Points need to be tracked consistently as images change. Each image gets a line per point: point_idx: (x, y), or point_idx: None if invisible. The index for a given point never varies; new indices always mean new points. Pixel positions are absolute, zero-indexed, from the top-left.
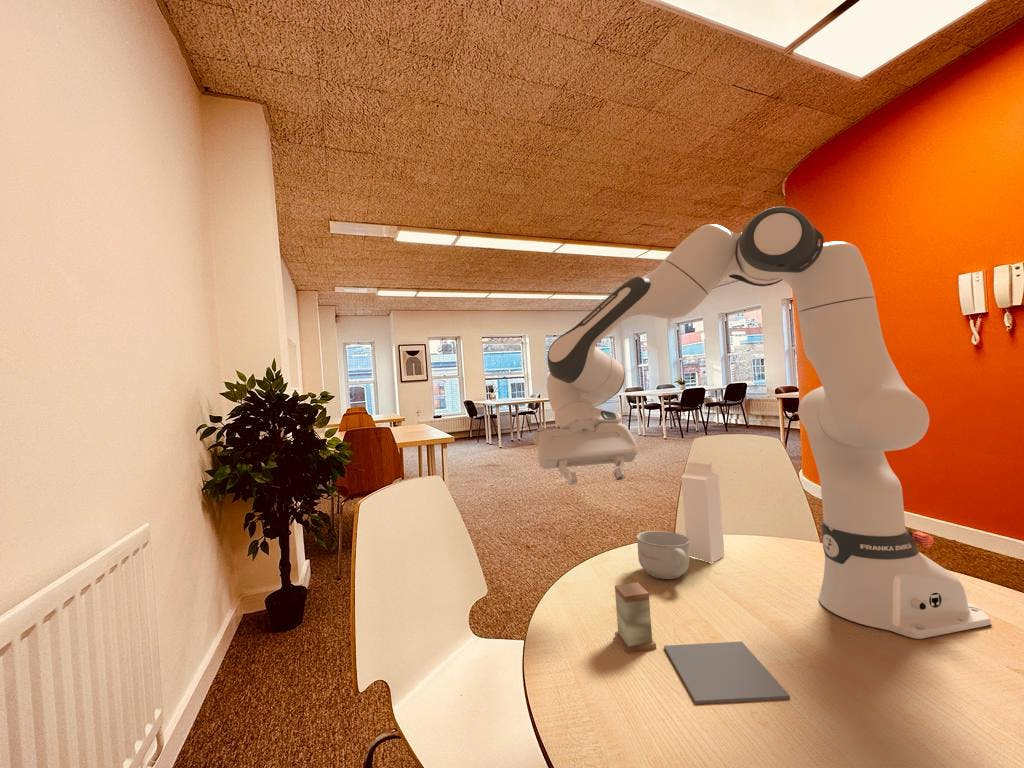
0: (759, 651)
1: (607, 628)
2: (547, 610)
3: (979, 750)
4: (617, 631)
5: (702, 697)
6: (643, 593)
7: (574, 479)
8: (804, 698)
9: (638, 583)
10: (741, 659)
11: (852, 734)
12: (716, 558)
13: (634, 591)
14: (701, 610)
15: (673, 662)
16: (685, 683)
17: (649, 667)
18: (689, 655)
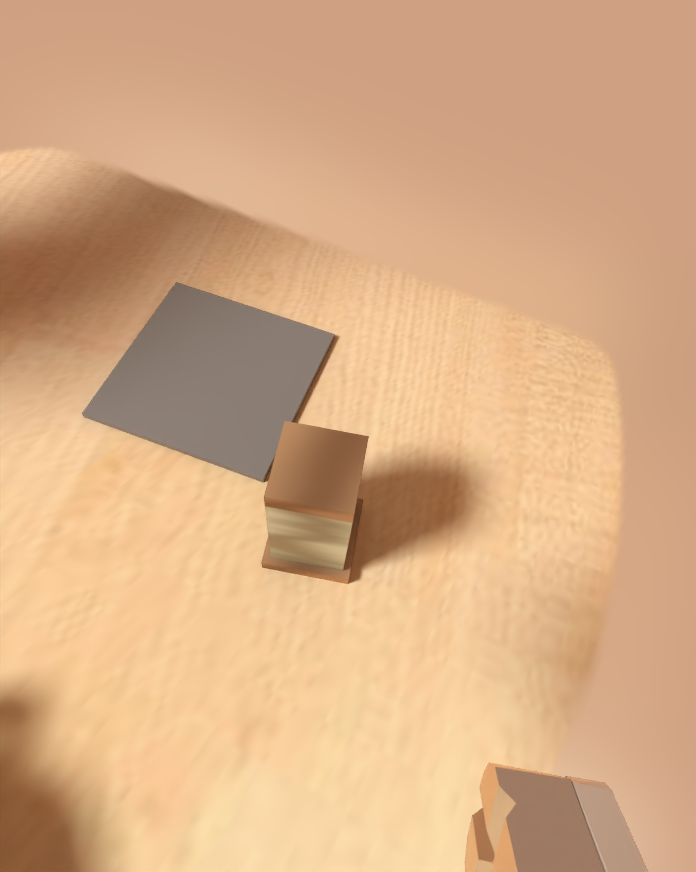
0: (79, 384)
1: (344, 633)
2: None
3: (67, 161)
4: (340, 577)
5: (316, 334)
6: (301, 427)
7: (535, 774)
8: (154, 279)
9: (267, 488)
10: (150, 372)
11: (174, 222)
12: None
13: (319, 448)
14: (2, 585)
15: None
16: (316, 370)
17: None
18: (238, 426)
